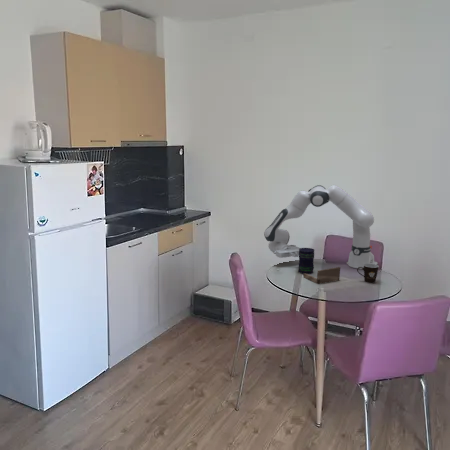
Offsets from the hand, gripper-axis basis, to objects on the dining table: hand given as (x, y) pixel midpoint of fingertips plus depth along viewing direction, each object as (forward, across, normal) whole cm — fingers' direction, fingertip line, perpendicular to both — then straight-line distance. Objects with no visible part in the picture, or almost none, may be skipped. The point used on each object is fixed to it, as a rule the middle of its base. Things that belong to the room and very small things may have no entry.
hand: (296, 255), depth 296 cm
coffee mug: (+41, +23, +8) cm, 48 cm away
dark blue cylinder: (+10, 0, +9) cm, 13 cm away
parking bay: (+25, 0, +8) cm, 27 cm away
